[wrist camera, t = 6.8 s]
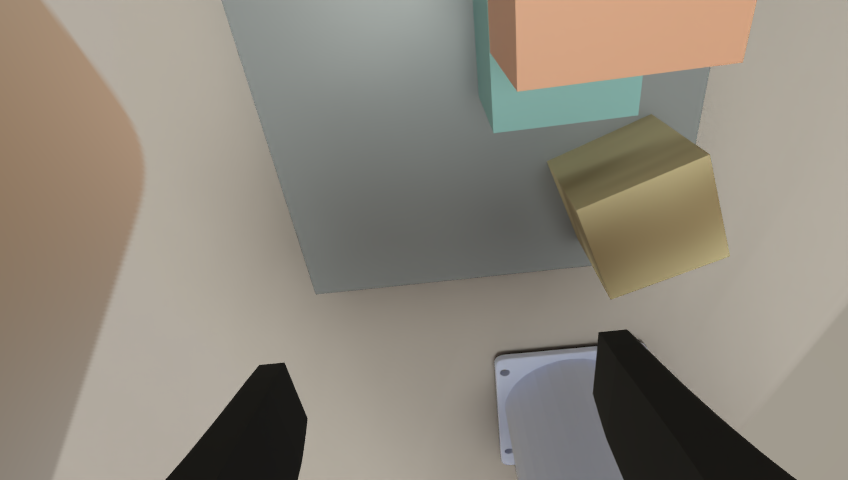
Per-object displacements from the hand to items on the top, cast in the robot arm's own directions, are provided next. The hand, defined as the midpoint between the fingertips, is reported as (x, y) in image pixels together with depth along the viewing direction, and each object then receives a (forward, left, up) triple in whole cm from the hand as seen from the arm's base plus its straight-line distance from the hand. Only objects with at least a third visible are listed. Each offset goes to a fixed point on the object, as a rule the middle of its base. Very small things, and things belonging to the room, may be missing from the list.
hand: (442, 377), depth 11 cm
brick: (0, -7, -9) cm, 12 cm away
